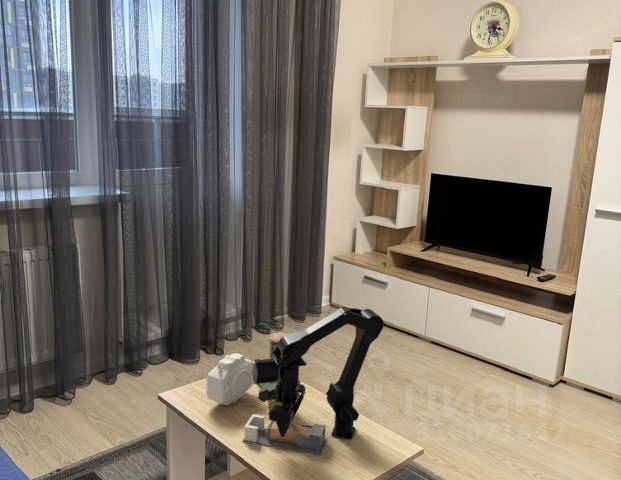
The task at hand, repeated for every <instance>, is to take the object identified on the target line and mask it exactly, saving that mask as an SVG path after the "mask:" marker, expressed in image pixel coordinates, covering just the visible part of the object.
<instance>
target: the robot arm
mask: <svg viewBox="0 0 621 480" xmlns="http://www.w3.org/2000/svg"><path fill="white" fill-rule="evenodd" d="M346 325H348V326H352V327H355V338H354V341H353V343H352V346H351V348H350V351H349V354H348V356H347V358H346V360H345V361H346V362H345V363H344V366H343V369H342V371H341V374H340V377H339V379H338V381H336V382H335V383H333V382H331V383H330V384H329V386H328V387H329V388H328V389H327V391H326V393H325V395H326V402H327V403H328V405H329V406H330V408H331V409H332V410H333V412H334V425H333V429H332V432H331V436H332V437H334V438H341V439H346V440H353V438H354V436H355V432H356V427H355V426H354V422H355V421H357V420H358V419H359V416H360V413H359V412H358V410H357V409H356V408H355V407H354V406H353V405H354V404H353V403H354V400H355V393H354V392H355V391H354V389H355V385H356V382H357V380H358V377H359V374H360V373H361V372H360V371H362V367H363V364H364V362H365V359H366V357H367V353H368V352H369V349H370V346H371V344H372V343H373V342H374V341H375V340H377V339H378V338H379V337H380V334H381V332H382V331H383V328H384V326H385V322H384V320H383V318H382V317H381V316H380V315H379V314H377V313H376V312H375V311H374V310H373V309H370V308H365V309H360V308H355V307H354V308H353V307H347V306H341V307H339V308H338V309H337V310H336V311H333V312H332V313H330V314H329V315H327V316H326V317H324V318H323V319H321V320H319V321H317V322H315V323H313V324H312V325H311V326H308V327H307V328H305V329H303V330H301V331H293V332H291V333H287V334H288V335H285V336H283V337H282V338H281V339H280V340H279V343H278V346H277V347H276V348H275V350H274V351H273V352H272V354H271V357H272V359H270V358H265V359H261V358H260V359H259V358H258V359H257V358H256V359H254V365H253V368H252V375H253V381H254V384H253V385H258V384H262V383H271V382H275V381H277V379H278V377H279V382H278V383H273V384H268V385H264V386H260V387H261V388H260V389H259V390H258V393H257V395H258V396H257V398H258V400H259V401H260V402H262V403H265V402H268V401H269V400H274V399H275V402H281V403H282V404H283V405H282V406H280V405H275V406H273V407H272V409H271V410H270V409H269V412H268V420H269V421H274V422H276V423H277V426H278V429H279V432H280V436H281V437H285V435H286V432H287V430H288V428H289V426H290V424H291V423H292V422H293V421H294V418H295V416H296V415H297V413H298V410H299V409H300V407H301V404H302V402H303V400H304V398H305V394H306V387H305V385H304V384H302V383H301V379H300V378H299V377H300V367H305V366H307V362H306V361H305V359H304V358H303V356H304V355H305V354H307V352H309V349H310V348H311V347H312V346H313V345H314V344H317V343H318V342H319V341H321V340H322V339H324V338H326V337H328V336H330V335H332V333H335V332H336V331H338V330H339V329H341V328H343V327H344V326H346ZM281 354H282V355H283V358H281V357H280V355H281ZM299 379H300V380H299Z"/></svg>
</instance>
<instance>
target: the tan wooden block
mask: <svg viewBox="0 0 621 480" xmlns="http://www.w3.org/2000/svg"><path fill="white" fill-rule="evenodd" d="M270 421H271V420H270ZM267 429H268V431H267V440H272V441H277V442H283V443H289V444H294V445H297V434H304V435H309V434H310V431H311V429H312V428H309V427H303V426H302V425H297V424H291V423H290V426H289V428H288V430H287V432H286V435H285V437H281V436H280V432H279V429H278V426H277V423H276V422H275V421H271V422H269V425H268V427H267Z"/></svg>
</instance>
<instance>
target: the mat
mask: <svg viewBox="0 0 621 480" xmlns="http://www.w3.org/2000/svg"><path fill="white" fill-rule="evenodd" d="M267 431H268V428H266V427H264V430H263V431H260V430H258V440H257V442H253V441H247V440H244V438H243V439H242V443H249V444H254V445H259V446H264V447H270V448H271V447H272V448H276V449H282V450H287V451H293V452H298V453H305V454H310V455H314V456H315V455H316V456H320V457H321V456H322V453H323V450H324V448H325V446H326V443H327V438H325V441H324V444H323V446H322V449H321V452H316V451H310V450H305V449H299V448H297V445H294V444H289V443H283V442H277V441H272V440H267Z"/></svg>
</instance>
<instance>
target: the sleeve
mask: <svg viewBox="0 0 621 480" xmlns="http://www.w3.org/2000/svg"><path fill="white" fill-rule="evenodd" d="M301 426H303V427H309V428H312V429H311V431H310V434H309V435H304V434H297V448H299V449H305V450H310V451H316V452H321V449H322V446H323V444H324V441H325V439H326V425H324V424H319V423H313V424H306V423H302V424H301Z"/></svg>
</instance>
